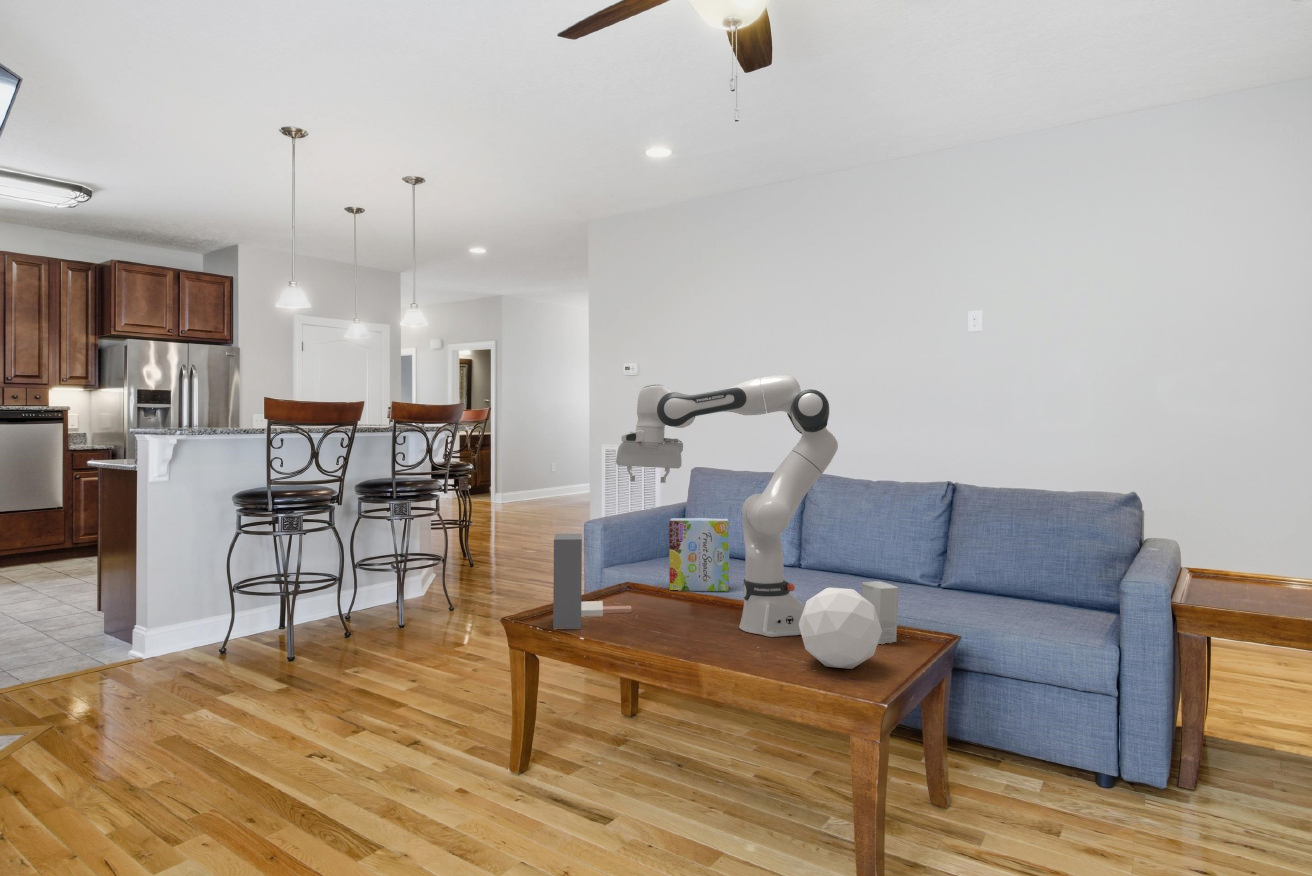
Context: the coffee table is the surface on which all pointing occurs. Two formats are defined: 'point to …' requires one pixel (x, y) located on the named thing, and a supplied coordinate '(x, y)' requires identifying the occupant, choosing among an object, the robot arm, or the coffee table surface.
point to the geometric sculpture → (840, 628)
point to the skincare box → (883, 607)
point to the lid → (601, 608)
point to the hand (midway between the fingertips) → (647, 482)
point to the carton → (567, 581)
